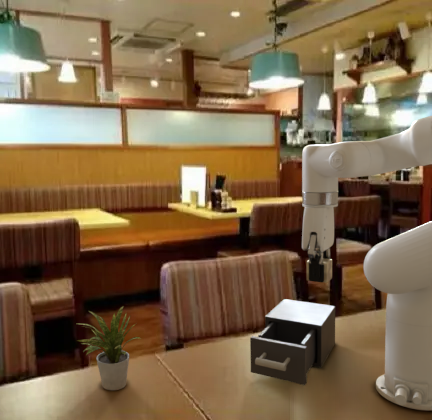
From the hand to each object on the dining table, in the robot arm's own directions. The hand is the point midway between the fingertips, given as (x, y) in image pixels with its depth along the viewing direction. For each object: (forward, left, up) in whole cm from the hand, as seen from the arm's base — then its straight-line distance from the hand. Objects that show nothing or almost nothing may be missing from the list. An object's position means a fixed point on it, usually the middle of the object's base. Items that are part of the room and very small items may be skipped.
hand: (319, 277), depth 102 cm
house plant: (-32, +36, -19) cm, 52 cm away
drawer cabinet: (+3, +5, -19) cm, 20 cm away
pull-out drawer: (-12, +5, -18) cm, 22 cm away
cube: (0, 0, 0) cm, 0 cm away
